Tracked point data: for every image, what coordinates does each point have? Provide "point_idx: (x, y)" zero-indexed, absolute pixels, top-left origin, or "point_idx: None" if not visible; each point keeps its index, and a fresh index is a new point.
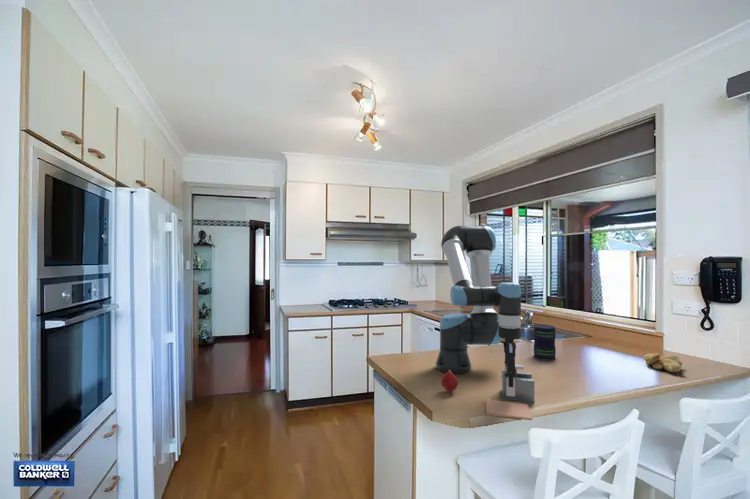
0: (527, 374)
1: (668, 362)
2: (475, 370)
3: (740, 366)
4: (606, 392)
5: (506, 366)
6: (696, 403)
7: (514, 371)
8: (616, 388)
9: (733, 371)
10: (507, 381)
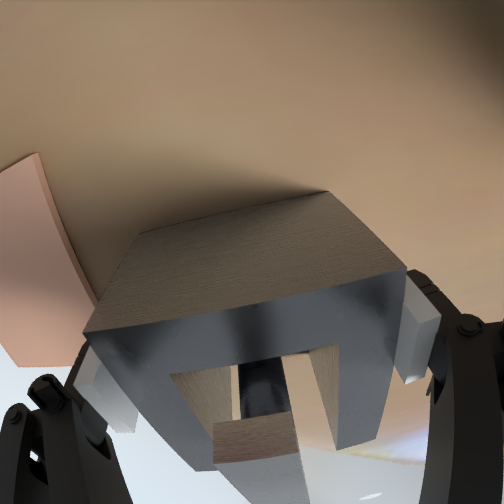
0: (336, 439)
1: None
2: None
3: None
4: (397, 453)
5: (216, 454)
6: (362, 499)
7: (41, 479)
8: (425, 451)
9: None
10: (94, 353)
